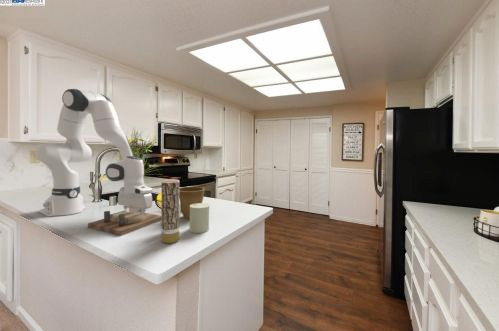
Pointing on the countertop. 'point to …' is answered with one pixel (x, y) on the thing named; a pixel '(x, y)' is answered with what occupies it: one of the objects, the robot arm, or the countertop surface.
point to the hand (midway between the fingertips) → (134, 215)
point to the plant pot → (190, 198)
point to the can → (199, 217)
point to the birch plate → (126, 216)
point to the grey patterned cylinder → (170, 211)
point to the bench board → (129, 227)
